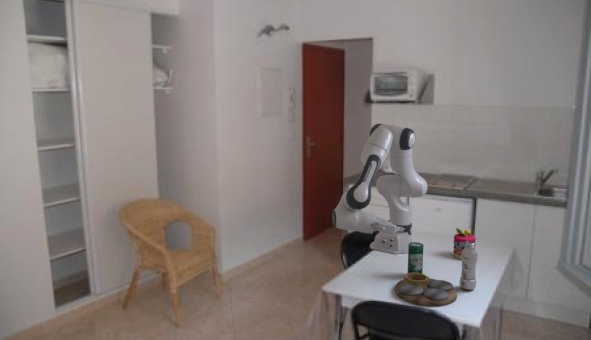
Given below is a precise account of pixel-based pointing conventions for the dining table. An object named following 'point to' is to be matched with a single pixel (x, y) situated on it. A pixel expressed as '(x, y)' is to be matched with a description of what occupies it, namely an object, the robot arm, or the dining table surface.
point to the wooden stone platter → (425, 290)
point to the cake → (461, 242)
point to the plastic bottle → (468, 266)
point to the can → (415, 257)
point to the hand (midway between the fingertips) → (399, 227)
